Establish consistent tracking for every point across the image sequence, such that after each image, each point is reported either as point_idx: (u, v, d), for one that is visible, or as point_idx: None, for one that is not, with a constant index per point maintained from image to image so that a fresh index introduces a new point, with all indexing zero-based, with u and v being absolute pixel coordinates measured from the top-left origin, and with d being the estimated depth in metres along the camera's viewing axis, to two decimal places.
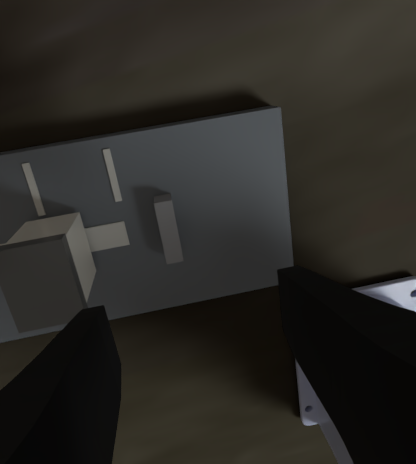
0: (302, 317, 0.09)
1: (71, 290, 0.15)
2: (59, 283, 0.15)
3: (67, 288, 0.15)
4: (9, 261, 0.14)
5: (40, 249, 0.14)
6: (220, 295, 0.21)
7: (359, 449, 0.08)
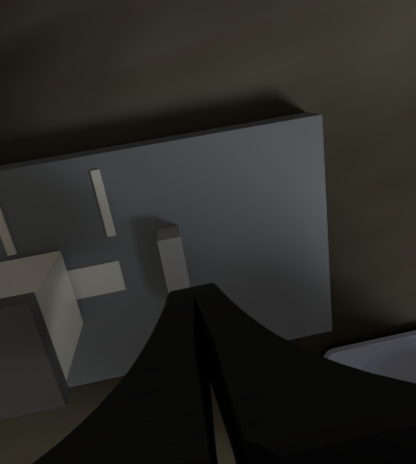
0: (205, 338, 0.09)
1: (43, 370, 0.11)
2: (26, 362, 0.10)
3: (37, 367, 0.11)
4: None
5: None
6: None
7: None
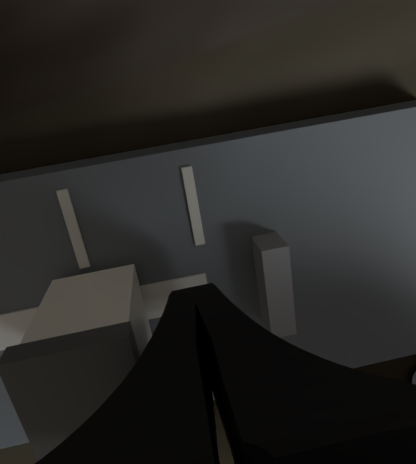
0: (203, 338, 0.09)
1: None
2: None
3: None
4: (35, 377, 0.08)
5: (90, 356, 0.08)
6: None
7: None
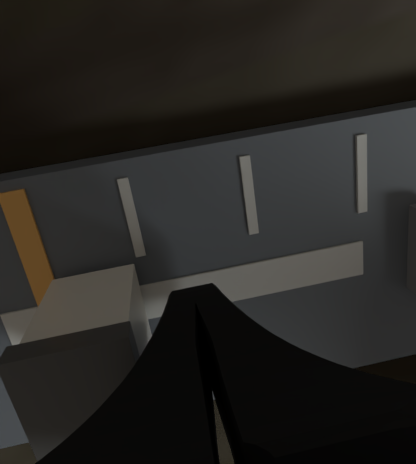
0: (203, 338, 0.09)
1: None
2: None
3: None
4: (34, 377, 0.08)
5: (89, 356, 0.08)
6: None
7: None
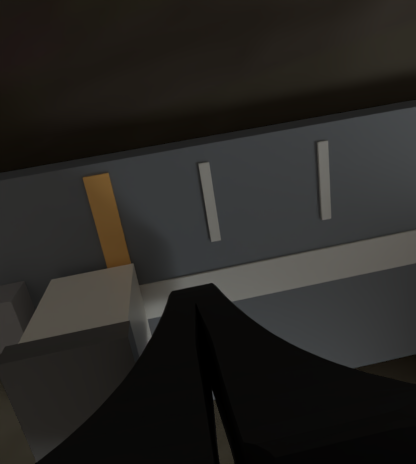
0: (203, 338, 0.09)
1: None
2: None
3: None
4: (33, 377, 0.08)
5: (89, 356, 0.08)
6: None
7: None
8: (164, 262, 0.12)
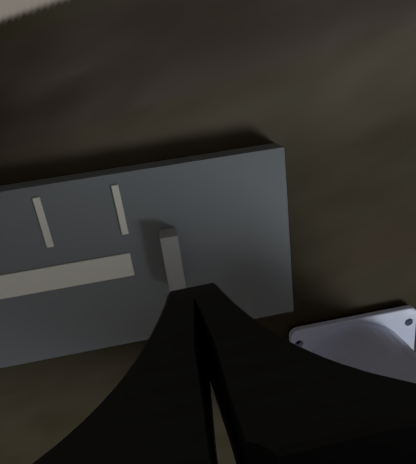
0: (205, 338, 0.09)
1: None
2: None
3: None
4: None
5: None
6: None
7: None
8: None
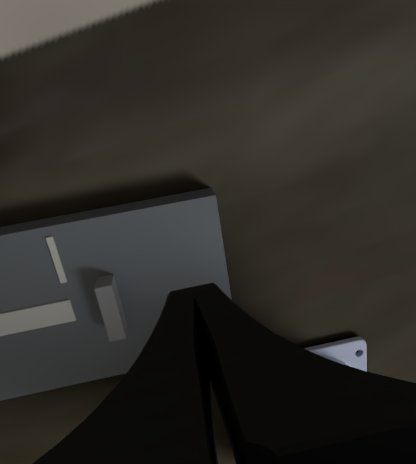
0: (204, 338, 0.09)
1: None
2: None
3: None
4: None
5: None
6: None
7: None
8: None
